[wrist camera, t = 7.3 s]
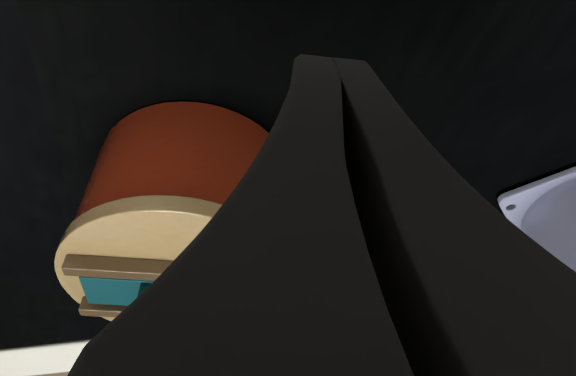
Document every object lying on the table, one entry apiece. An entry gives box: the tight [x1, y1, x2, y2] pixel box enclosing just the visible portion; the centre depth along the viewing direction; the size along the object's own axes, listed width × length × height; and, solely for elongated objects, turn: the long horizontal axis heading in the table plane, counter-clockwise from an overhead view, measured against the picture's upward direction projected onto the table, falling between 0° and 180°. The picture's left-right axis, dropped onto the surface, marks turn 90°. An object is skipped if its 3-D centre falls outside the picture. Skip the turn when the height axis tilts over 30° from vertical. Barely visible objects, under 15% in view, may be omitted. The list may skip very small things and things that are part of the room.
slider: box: [79, 276, 154, 306], centre depth 20 cm, size 3×2×2 cm
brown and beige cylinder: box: [54, 101, 269, 321], centre depth 23 cm, size 10×10×8 cm
